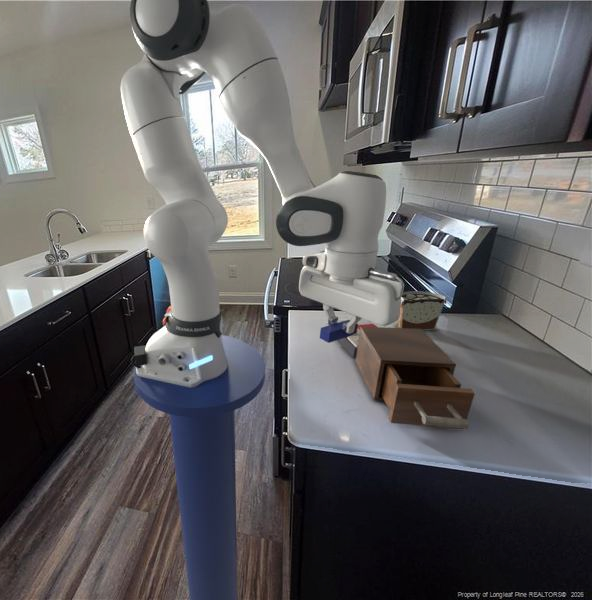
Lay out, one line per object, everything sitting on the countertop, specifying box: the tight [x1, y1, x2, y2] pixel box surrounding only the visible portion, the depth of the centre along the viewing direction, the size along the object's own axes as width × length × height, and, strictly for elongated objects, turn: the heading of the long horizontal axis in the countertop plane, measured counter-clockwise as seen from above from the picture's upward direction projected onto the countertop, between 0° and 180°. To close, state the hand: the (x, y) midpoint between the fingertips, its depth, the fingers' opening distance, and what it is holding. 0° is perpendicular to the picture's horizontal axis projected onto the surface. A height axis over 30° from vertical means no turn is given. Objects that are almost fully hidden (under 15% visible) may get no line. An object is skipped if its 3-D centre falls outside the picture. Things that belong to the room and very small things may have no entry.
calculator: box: [337, 318, 378, 360], centre depth 85 cm, size 11×4×15 cm
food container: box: [397, 290, 448, 331], centre depth 91 cm, size 12×6×10 cm, turn 89°
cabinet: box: [355, 326, 457, 402], centre depth 68 cm, size 15×13×10 cm
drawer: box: [380, 364, 476, 431], centre depth 59 cm, size 18×11×8 cm, turn 168°
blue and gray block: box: [319, 320, 358, 344], centre depth 65 cm, size 8×2×2 cm, turn 115°
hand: (339, 328), depth 65 cm, fingers closed on blue and gray block, 2 cm apart
